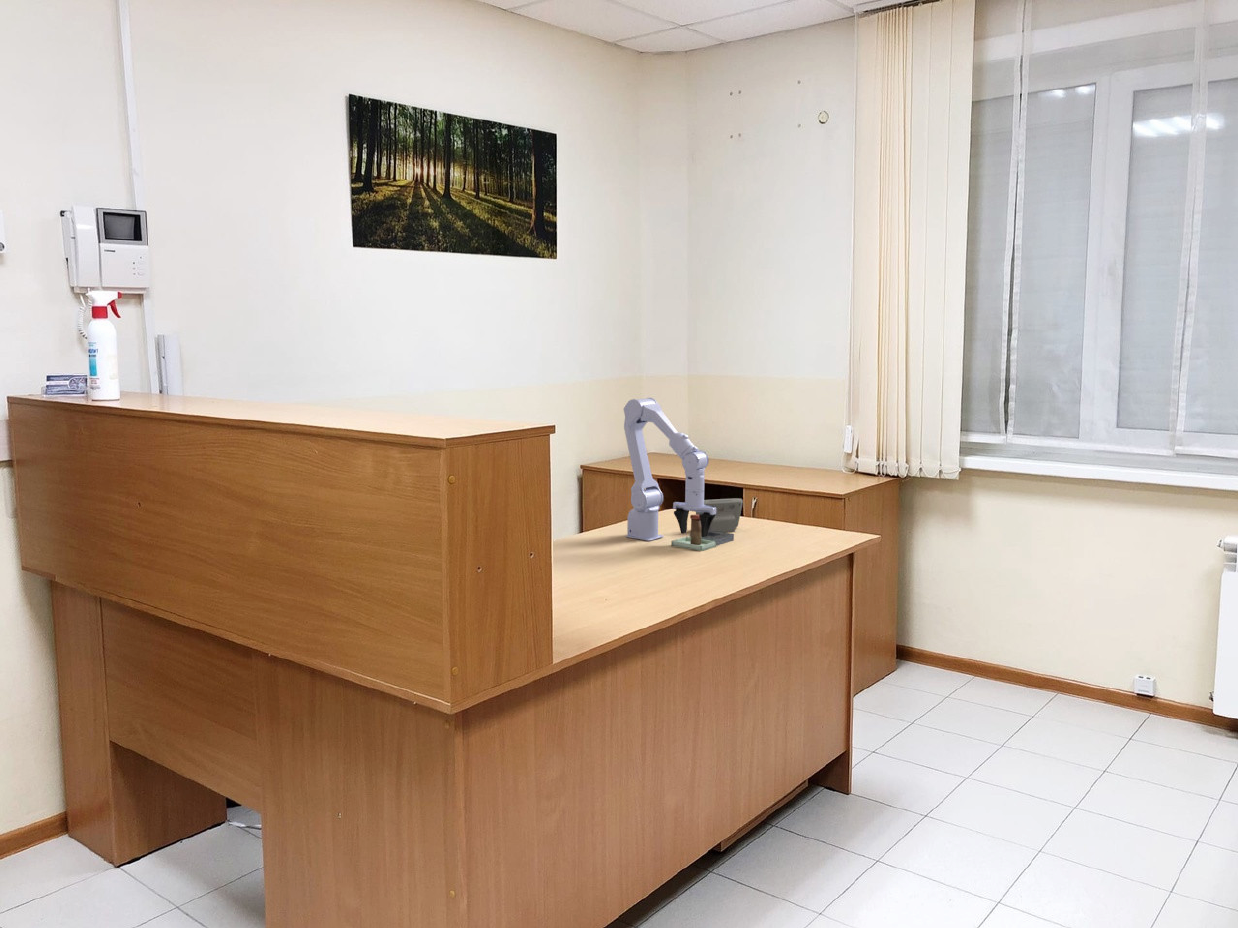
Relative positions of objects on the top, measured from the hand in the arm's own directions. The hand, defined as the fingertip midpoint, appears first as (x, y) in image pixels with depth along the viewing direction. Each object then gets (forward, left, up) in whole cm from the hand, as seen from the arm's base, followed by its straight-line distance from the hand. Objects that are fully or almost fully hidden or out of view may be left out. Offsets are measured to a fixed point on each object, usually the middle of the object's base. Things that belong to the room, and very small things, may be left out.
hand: (693, 534), depth 302 cm
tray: (0, 0, -3) cm, 3 cm away
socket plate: (0, +10, -3) cm, 11 cm away
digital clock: (-7, +25, -4) cm, 26 cm away
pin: (0, +1, -3) cm, 3 cm away
